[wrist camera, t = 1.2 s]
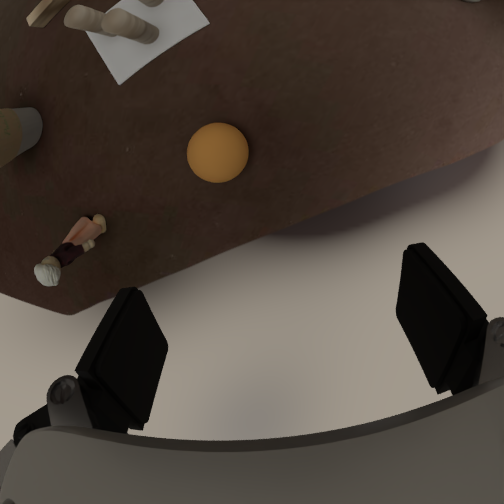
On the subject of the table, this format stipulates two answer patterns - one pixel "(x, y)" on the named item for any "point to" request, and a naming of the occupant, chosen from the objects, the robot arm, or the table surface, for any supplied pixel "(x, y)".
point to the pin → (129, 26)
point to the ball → (217, 152)
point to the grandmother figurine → (70, 249)
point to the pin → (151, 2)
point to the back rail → (45, 12)
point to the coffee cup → (18, 131)
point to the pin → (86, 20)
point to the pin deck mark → (170, 33)
